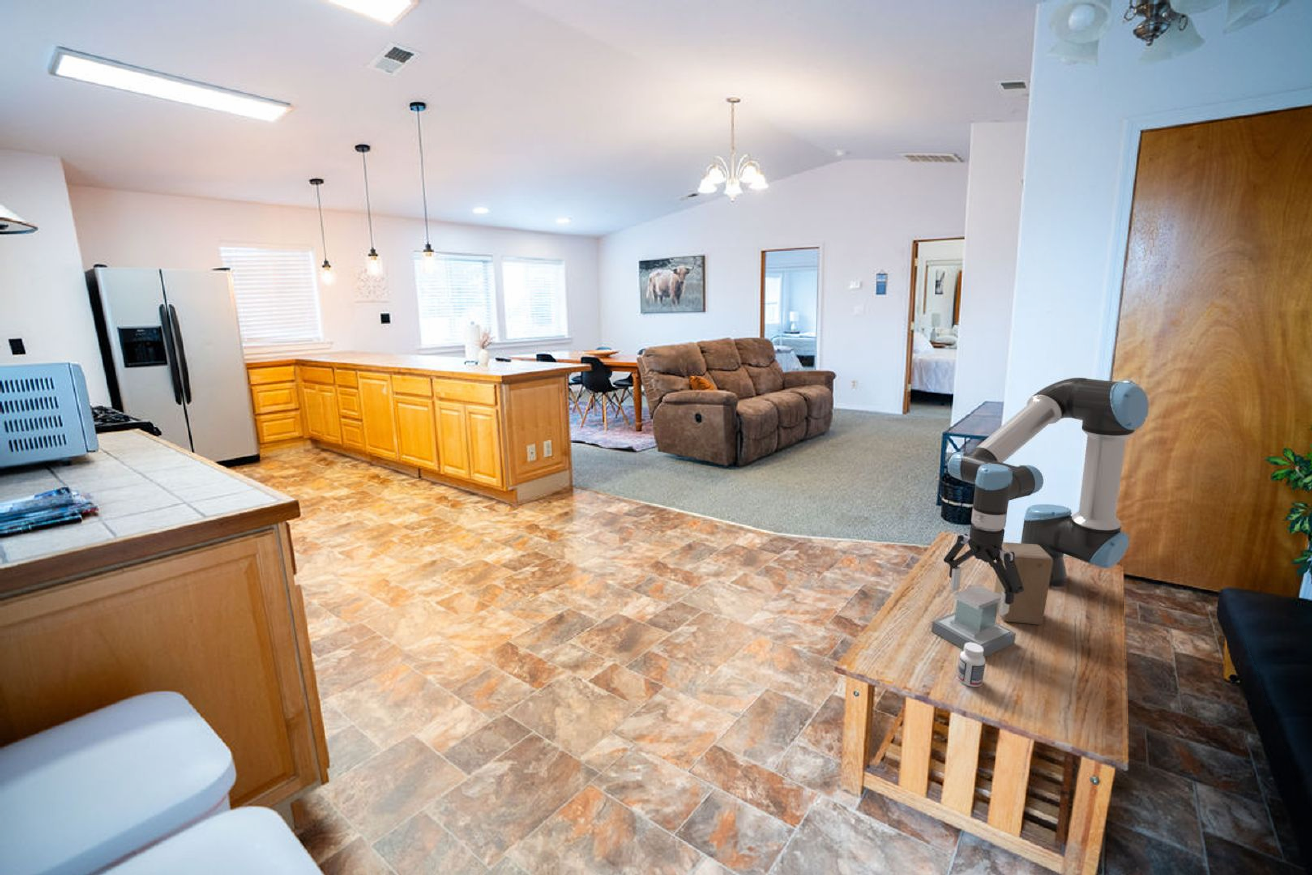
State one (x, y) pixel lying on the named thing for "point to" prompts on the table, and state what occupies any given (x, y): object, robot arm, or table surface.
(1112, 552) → the robot arm
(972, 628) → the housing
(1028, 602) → the wooden block
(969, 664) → the pill bottle
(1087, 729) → the table surface
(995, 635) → the stand
